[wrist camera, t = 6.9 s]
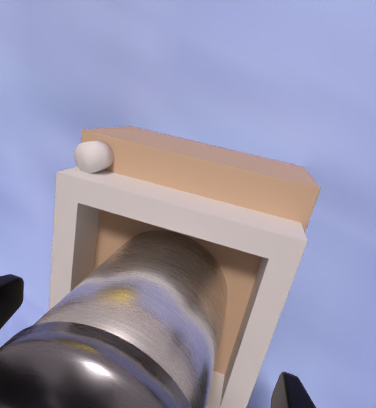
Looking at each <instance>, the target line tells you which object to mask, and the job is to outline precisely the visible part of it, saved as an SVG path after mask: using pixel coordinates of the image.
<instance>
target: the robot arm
mask: <svg viewBox="0 0 376 408" xmlns="http://www.w3.org/2000/svg"><path fill="white" fill-rule="evenodd" d="M23 290H24V281H23V279H22V278H21V277H18V276H15V275H12V274H9V275H5V276H0V329H1V328H2V327H3V326H4V324H5V323H6V322H7V321H8V320H9V319H10V318H11V316H12V315H13V314H14V313H15V312H16V311H17V310H18V308H19V307H20V306H21V304H22V302H23ZM271 408H316V407H315V405H314V403H313V402H312V400H311V398H310V397H309V395H308V393H307V391H306V390H305V388H304V386H303V385H302V383H301V381H300V380H299V378H298V377H297V376H295V375H292V374H289V373H287V372H282V373H281V374H280V376H279V379H278V381H277V384H276V386H275V389H274V391H273V394H272V399H271Z"/></svg>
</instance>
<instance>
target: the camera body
mask: <svg viewBox="0 0 376 408" xmlns="http://www.w3.org/2000/svg"><path fill="white" fill-rule="evenodd" d="M74 158H75V162H76V164H77V166H78V167H74V168H70V169H66V170H62V171H58V172H57V176H56V194H55V211H54V228H53V245H52V263H51V280H50V297H49V311H50V310H51V309H52V308H53V307H54V306H55V305H56V304H57V303H58V302H60V301H61V300H62V299H63V298H64V297H65V296H66V295H67V294H68V293H70V292H71V291H72V290H73V289H74V288H75V287H76V286H77V285H79V284H80V283H81V282H82V281H83V280H84V279H85V278H86V277H87V276H89V275H90V274H91V273H92V272H93V271H94V270H95V269H96V268H97V267H99V266H100V265H101V264H102V263H103V262H104V261H105V260H106V259H107V258H109V257H110V256H111V255H112V254H113V253H114V252H115V251H116V250H118V249H119V248H120V247H121V246H122V245H123V244H124V243H125V242H126V241H128V240H129V239H131V238H132V237H134V236H136V235H138V234H141V233H144V232H149V231H160V230H162V231H171V232H175V233H179V234H182V235H184V236H187V237H189V238H191V239H193V240H194V241H196V242H197V243H199V244H200V245H202V246H203V247H204V248H205V249H206V250H208V251H209V252H210V254H211V255H212V256H213V257H214V258H215V260H216V261H217V262H218V264H219V266H220V267H221V269H222V271H223V274H224V276H225V279H226V283H227V290H228V298H227V305H226V310H225V315H224V320H223V325H222V330H221V335H220V340H219V345H218V350H217V355H216V360H215V364H214V369H213V374H212V379H211V384H210V389H209V394H208V399H207V404H206V408H246V407H247V404H248V401H249V399H250V396H251V393H252V391H253V388H254V385H255V383H256V380H257V377H258V374H259V372H260V369H261V366H262V364H263V361H264V358H265V355H266V353H267V350H268V347H269V345H270V342H271V339H272V336H273V334H274V331H275V328H276V326H277V323H278V320H279V318H280V315H281V312H282V309H283V307H284V304H285V301H286V299H287V296H288V293H289V290H290V288H291V285H292V282H293V280H294V277H295V274H296V271H297V269H298V266H299V263H300V261H301V258H302V255H303V253H304V250H305V247H306V244H307V242H308V241H307V239H306V236H305V230H306V228H307V225H308V222H309V219H310V216H311V214H312V211H313V208H314V205H315V203H316V200H317V197H318V194H319V192H320V189H321V188H320V187H319V185H318V184H317V183H316V182H315V180H314V179H313V178H312V177H311V175H310V174H309V173H308V172H307V170H306V169H305V168H304V167H300V166H296V165H292V164H288V163H284V162H279V161H275V160H271V159H267V158H262V157H258V156H254V155H250V154H245V153H241V152H237V151H233V150H229V149H224V148H220V147H216V146H212V145H207V144H203V143H199V142H195V141H190V140H186V139H182V138H178V137H174V136H169V135H165V134H161V133H157V132H152V131H148V130H144V129H140V128H135V127H131V126H130V127H114V128H99V129H83V130H82V137H81V144H79V145H78V146H77V148H76V150H75V153H74Z"/></svg>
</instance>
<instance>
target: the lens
mask: <svg viewBox="0 0 376 408" xmlns="http://www.w3.org/2000/svg"><path fill="white" fill-rule="evenodd" d="M227 298H228V290H227V283H226V279H225V276H224V274H223V271H222V269H221V267H220V266H219V264H218V262H217V261H216V260H215V258H214V257H213V256H212V255H211V254H210V252H209V251H208V250H206V249H205V248H204V247H203V246H202V245H200V244H199V243H197V242H196V241H194V240H193V239H191V238H189V237H187V236H184V235H182V234H179V233H175V232H171V231H162V230H160V231H149V232H144V233H141V234H138V235H136V236H134V237H132V238H131V239H129V240H128V241H126V242H125V243H124V244H123V245H122V246H121V247H120V248H119V249H118V250H116V251H115V252H114V253H113V254H112V255H111V256H110V257H109V258H107V259H106V260H105V261H104V262H103V263H102V264H101V265H100V266H99V267H97V268H96V269H95V270H94V271H93V272H92V273H91V274H90V275H89V276H87V277H86V278H85V279H84V280H83V281H82V282H81V283H80V284H79V285H77V286H76V287H75V288H74V289H73V290H72V291H71V292H70V293H68V294H67V295H66V296H65V297H64V298H63V299H62V300H61V301H60V302H58V303H57V304H56V305H55V306H54V307H53V308H52V309H51V310H50V311H48V312H47V313H46V314H45V315H44V316H43V317H42V318H41V319H39V320H38V321H37V322H36V323H35V324H34V325H33V326H31V327H28V328H26V329H23V330H22V331H20V332H19V333H17V334H16V335H14V336H13V337H12V338H11V339H10V340H9V341H7V342H6V343H5V344H4V345H3V346H2V347H1V348H0V408H206V404H207V399H208V394H209V389H210V384H211V379H212V374H213V369H214V364H215V360H216V355H217V350H218V345H219V340H220V335H221V330H222V325H223V320H224V315H225V310H226V305H227Z"/></svg>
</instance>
